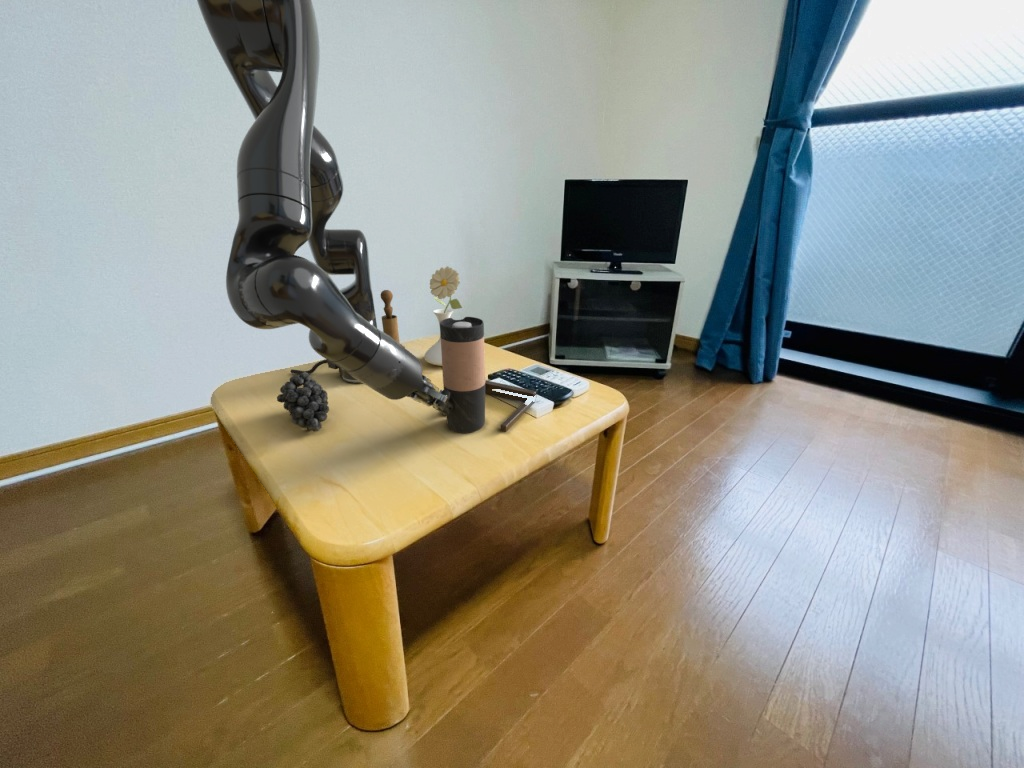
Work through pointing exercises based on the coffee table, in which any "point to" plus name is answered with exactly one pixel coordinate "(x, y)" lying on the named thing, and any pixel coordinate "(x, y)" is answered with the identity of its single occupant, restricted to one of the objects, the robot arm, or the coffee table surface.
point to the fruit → (305, 401)
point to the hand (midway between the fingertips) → (448, 409)
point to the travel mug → (464, 372)
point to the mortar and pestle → (389, 317)
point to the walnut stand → (522, 409)
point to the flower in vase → (443, 287)
